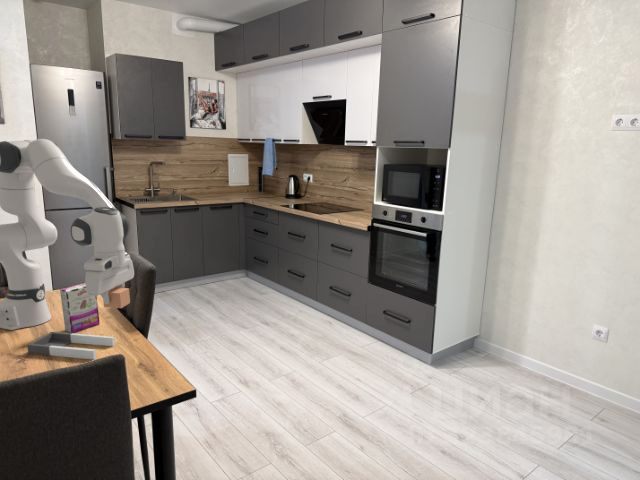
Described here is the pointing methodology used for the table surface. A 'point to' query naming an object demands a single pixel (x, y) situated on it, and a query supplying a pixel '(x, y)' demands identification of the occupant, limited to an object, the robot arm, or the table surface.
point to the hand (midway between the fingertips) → (113, 299)
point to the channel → (80, 351)
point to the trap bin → (49, 342)
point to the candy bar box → (79, 308)
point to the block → (118, 297)
